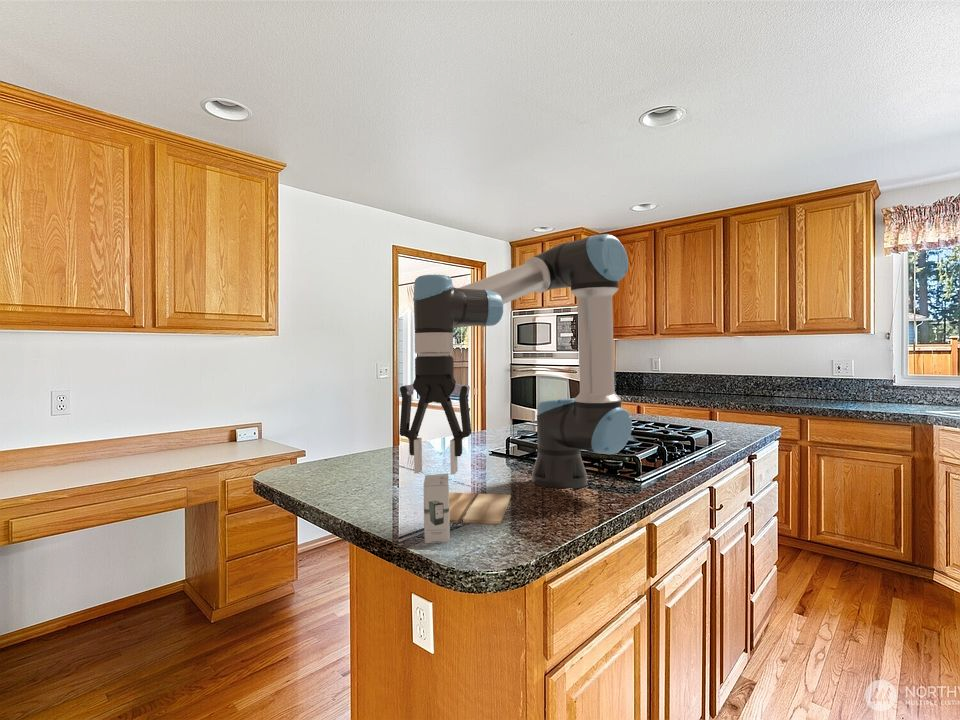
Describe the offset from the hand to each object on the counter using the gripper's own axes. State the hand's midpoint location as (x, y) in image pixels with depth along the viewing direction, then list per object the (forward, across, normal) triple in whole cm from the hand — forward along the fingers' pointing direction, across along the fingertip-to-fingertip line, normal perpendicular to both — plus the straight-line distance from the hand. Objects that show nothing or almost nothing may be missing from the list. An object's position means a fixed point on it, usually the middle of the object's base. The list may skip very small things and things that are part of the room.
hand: (436, 472), depth 99 cm
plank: (+13, -8, -17) cm, 23 cm away
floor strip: (+13, 0, -17) cm, 21 cm away
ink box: (+13, 0, 0) cm, 13 cm away
